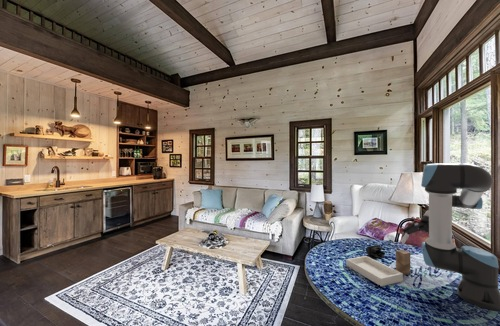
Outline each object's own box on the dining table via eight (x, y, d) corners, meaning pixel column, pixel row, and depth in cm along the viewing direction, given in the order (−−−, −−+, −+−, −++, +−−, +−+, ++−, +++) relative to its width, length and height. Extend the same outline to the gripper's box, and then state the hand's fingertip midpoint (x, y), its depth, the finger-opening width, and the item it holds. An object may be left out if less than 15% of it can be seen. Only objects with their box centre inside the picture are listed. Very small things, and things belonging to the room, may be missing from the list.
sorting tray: (402, 281, 116) (402, 273, 116) (381, 286, 110) (380, 278, 110) (366, 261, 138) (366, 255, 138) (346, 265, 133) (346, 259, 133)
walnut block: (410, 273, 124) (410, 252, 124) (404, 274, 122) (404, 253, 122) (402, 269, 129) (401, 249, 129) (396, 270, 127) (395, 250, 127)
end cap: (376, 252, 153) (376, 243, 153) (385, 256, 146) (385, 247, 146) (365, 254, 149) (365, 245, 149) (374, 259, 142) (374, 249, 142)
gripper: (457, 228, 123) (440, 258, 118) (412, 218, 146) (396, 242, 142) (451, 220, 121) (433, 250, 116) (406, 211, 145) (390, 235, 140)
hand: (413, 246), depth 129 cm, fingers open, 13 cm apart
